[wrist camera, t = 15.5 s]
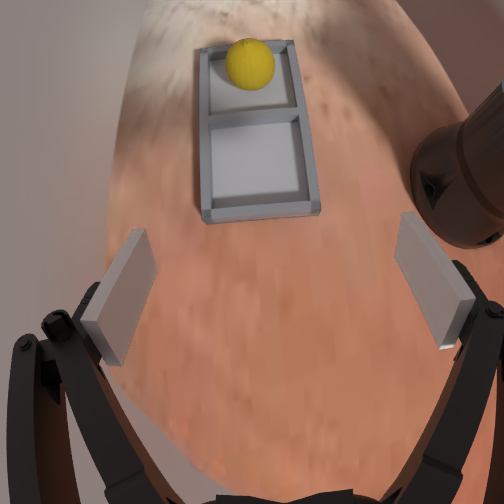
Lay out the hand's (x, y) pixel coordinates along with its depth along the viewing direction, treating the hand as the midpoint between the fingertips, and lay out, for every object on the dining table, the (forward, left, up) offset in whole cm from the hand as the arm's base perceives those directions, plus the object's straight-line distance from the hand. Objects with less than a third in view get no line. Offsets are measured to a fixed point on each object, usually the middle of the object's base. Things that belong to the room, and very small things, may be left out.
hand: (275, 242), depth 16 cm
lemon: (-17, -14, -17) cm, 28 cm away
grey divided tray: (-13, -11, -18) cm, 24 cm away
